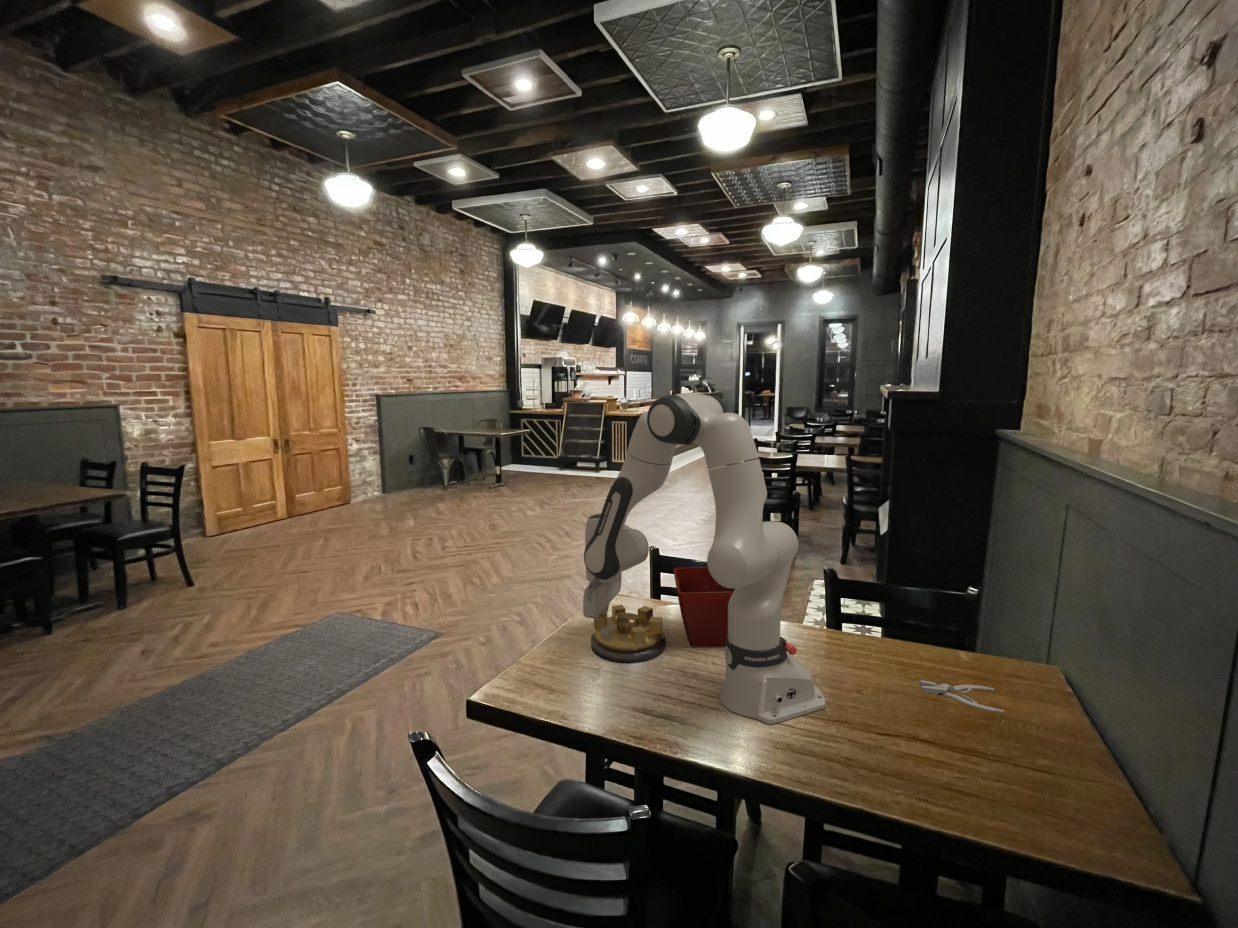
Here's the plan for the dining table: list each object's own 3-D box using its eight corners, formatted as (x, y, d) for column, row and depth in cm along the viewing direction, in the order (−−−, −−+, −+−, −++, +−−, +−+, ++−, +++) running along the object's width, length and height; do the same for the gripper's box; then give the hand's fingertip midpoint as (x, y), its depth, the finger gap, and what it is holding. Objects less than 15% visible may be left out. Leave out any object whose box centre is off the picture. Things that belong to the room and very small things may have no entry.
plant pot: (678, 653, 146) (677, 591, 143) (673, 622, 164) (673, 567, 162) (752, 653, 145) (753, 591, 142) (739, 622, 164) (740, 566, 161)
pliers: (1005, 708, 117) (923, 694, 122) (1004, 715, 117) (923, 701, 123) (993, 684, 126) (918, 672, 131) (993, 690, 126) (918, 678, 132)
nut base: (654, 625, 163) (654, 617, 162) (675, 658, 143) (675, 649, 143) (586, 632, 159) (585, 625, 159) (597, 667, 140) (597, 658, 139)
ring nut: (624, 617, 163) (623, 599, 163) (675, 634, 152) (675, 615, 151) (580, 639, 150) (580, 620, 149) (633, 660, 138) (632, 639, 137)
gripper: (599, 586, 141) (600, 638, 143) (625, 560, 160) (625, 606, 162) (576, 583, 143) (577, 635, 145) (604, 558, 162) (605, 604, 164)
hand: (603, 620), depth 154 cm, fingers closed, pressing on ring nut
